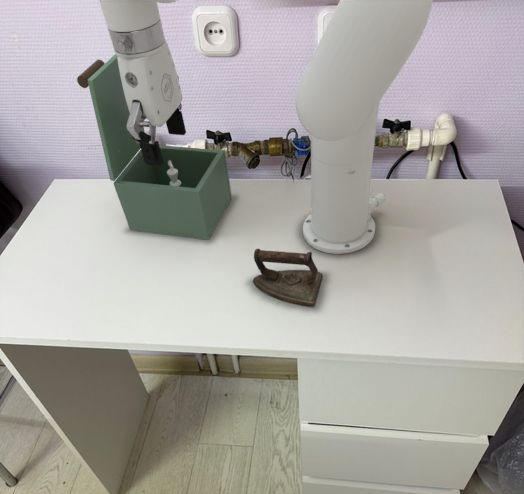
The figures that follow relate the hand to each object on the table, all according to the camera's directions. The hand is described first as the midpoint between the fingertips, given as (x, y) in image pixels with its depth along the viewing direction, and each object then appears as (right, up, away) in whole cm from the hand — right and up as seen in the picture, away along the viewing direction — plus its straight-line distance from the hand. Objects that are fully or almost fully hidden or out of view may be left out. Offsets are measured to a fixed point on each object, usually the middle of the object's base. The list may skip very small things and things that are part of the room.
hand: (166, 148), depth 84 cm
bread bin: (+1, -8, +10) cm, 13 cm away
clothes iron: (+20, -24, -4) cm, 32 cm away
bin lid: (-7, +4, -3) cm, 9 cm away
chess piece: (+1, -8, +10) cm, 13 cm away
